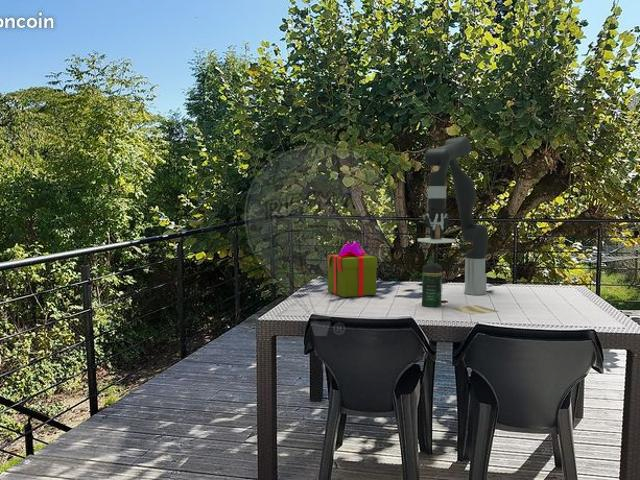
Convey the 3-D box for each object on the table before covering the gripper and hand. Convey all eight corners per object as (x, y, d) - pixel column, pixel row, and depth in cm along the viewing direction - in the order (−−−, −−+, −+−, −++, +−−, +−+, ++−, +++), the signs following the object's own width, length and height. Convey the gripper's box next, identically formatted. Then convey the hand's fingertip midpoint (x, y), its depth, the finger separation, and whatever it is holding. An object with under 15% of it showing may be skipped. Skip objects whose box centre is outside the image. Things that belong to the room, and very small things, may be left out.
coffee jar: (439, 309, 237) (440, 265, 235) (420, 308, 239) (420, 264, 238) (442, 305, 246) (443, 262, 244) (424, 304, 248) (424, 261, 247)
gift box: (321, 293, 276) (321, 241, 274) (354, 289, 288) (354, 239, 286) (348, 299, 259) (348, 244, 257) (382, 294, 272) (382, 242, 270)
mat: (476, 307, 242) (476, 305, 242) (499, 313, 230) (499, 311, 230) (449, 309, 237) (449, 307, 237) (471, 316, 224) (471, 314, 224)
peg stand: (438, 240, 247) (438, 225, 246) (455, 242, 237) (455, 227, 236) (417, 241, 242) (417, 226, 241) (433, 243, 232) (433, 228, 232)
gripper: (444, 197, 244) (444, 237, 246) (417, 197, 238) (417, 238, 240) (456, 197, 238) (455, 238, 239) (428, 197, 232) (427, 240, 233)
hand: (436, 238), depth 239 cm, fingers closed on peg stand, 3 cm apart
